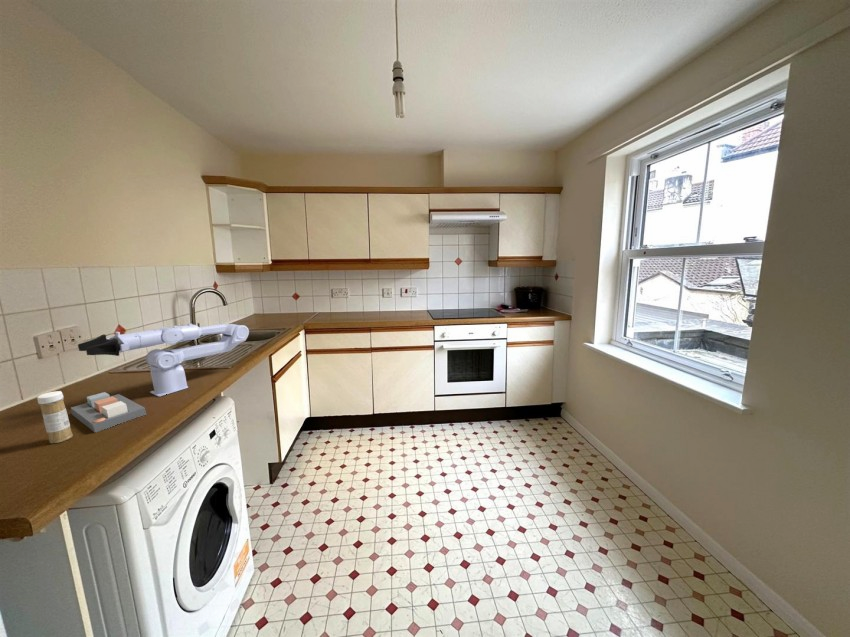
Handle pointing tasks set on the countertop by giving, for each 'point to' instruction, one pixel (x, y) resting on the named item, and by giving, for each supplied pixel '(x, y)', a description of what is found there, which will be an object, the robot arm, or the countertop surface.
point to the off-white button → (114, 409)
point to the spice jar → (55, 416)
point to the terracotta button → (104, 403)
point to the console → (100, 422)
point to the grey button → (96, 398)
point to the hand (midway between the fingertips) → (82, 349)
